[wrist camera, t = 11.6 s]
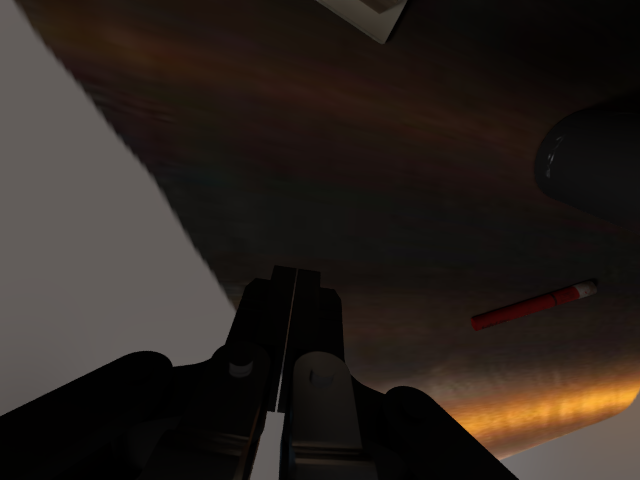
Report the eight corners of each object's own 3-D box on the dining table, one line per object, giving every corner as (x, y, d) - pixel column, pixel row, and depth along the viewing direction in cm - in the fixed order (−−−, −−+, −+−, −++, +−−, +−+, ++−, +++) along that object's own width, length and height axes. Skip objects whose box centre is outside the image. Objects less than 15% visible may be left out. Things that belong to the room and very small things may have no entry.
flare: (585, 288, 45) (596, 296, 43) (470, 325, 45) (477, 333, 43) (585, 278, 44) (597, 285, 43) (469, 314, 44) (476, 323, 43)
